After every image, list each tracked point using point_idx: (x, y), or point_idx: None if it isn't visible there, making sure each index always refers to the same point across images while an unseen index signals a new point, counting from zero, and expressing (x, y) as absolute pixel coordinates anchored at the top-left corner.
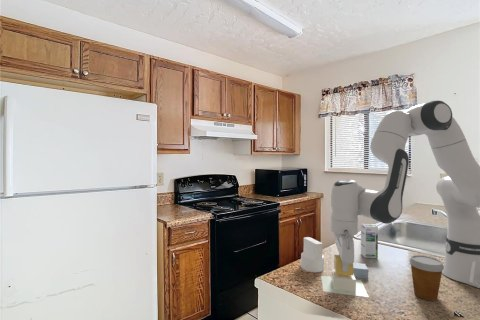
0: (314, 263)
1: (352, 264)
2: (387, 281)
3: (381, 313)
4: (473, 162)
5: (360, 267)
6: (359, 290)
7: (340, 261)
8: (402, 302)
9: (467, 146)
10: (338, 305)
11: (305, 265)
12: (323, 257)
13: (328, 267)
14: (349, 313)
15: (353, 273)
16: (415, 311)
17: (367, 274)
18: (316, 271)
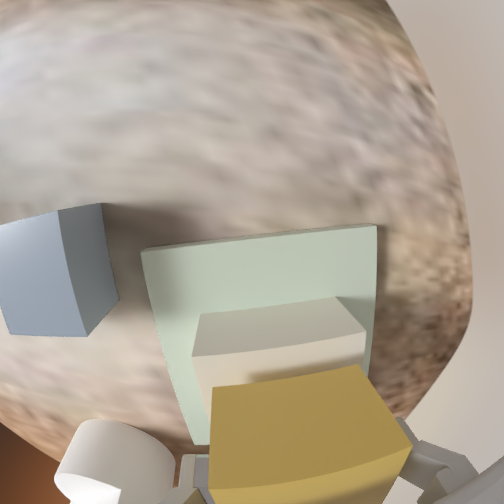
0: (164, 494)
1: (400, 433)
2: (69, 91)
3: (452, 186)
4: None
5: (47, 271)
6: (310, 274)
7: (381, 499)
8: (323, 50)
9: None
10: (426, 350)
11: None
12: (100, 482)
13: (51, 394)
14: (465, 309)
15: (100, 308)
16: (383, 33)
17: (79, 211)
18: (163, 459)
